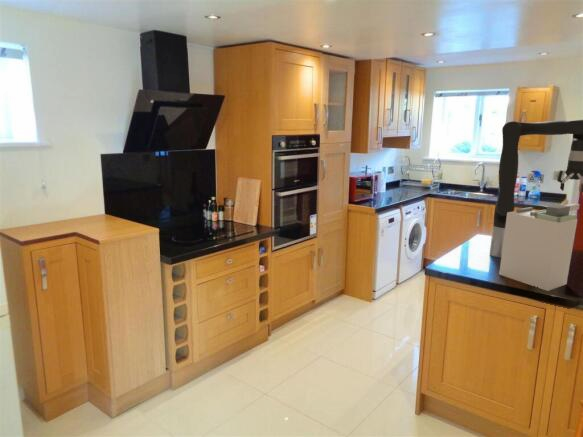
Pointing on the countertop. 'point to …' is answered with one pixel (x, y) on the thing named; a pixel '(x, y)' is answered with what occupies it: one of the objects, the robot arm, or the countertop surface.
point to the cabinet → (537, 248)
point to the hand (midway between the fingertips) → (571, 191)
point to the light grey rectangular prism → (561, 209)
